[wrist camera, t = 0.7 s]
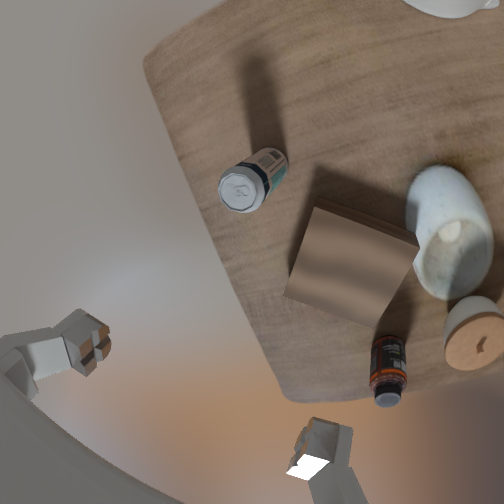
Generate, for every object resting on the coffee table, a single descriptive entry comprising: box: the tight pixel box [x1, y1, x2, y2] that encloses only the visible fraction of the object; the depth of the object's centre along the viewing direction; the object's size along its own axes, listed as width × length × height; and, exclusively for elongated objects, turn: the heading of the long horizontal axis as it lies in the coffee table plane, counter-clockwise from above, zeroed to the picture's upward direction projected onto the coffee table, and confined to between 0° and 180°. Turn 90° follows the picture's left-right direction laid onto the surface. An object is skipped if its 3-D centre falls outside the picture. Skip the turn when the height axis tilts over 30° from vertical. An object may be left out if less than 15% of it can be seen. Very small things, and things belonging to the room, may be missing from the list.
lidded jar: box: [443, 296, 504, 370], centre depth 34 cm, size 11×11×9 cm
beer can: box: [218, 148, 288, 213], centre depth 33 cm, size 5×5×12 cm
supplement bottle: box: [369, 336, 407, 407], centre depth 41 cm, size 6×6×11 cm
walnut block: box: [283, 196, 420, 328], centre depth 39 cm, size 14×14×4 cm
